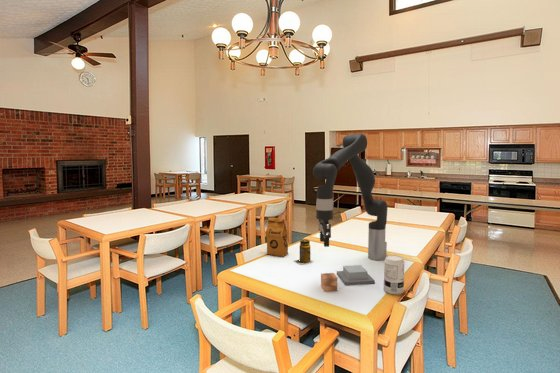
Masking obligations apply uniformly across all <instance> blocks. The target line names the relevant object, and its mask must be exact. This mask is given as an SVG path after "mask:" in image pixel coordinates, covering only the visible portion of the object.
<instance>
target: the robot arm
mask: <svg viewBox="0 0 560 373" xmlns="http://www.w3.org/2000/svg"><path fill="white" fill-rule="evenodd" d="M342 147H343V148H341V149H339V150H337V151H335V152H334V153H332V154H331V155H330V156H329V157H328V158H325V159H324V160H321V161H320V162H317V163H316V164H315V165H314V167H313V169H312V175H313V176H314V178H315V179H318V180H325V182H324V184H320V185H319V184H318V186H317V187H316V203H315V204H316V206H315V207H316V208H315V209H316V210H315V219H317V220H318V232H319V241H320V242H322V243H323V246H324V248H328V247H330V239H331V237H332V229H331V228H332V225H331V223H329V222H330V220H333V219H334V199H333V198H334V192H333V191H334V186H335V182H336V179H337V175H338V170H340V169H341V168H342V167H344V165H346V163H347V162H348V161H349V162H350V165H351V167H352V170H353V173H354V176H355V179H356V182H357V185H358V187H359V190H360V193H361V196H362V199H363V204H364V208H365V209H364V210H365V211H366V214H368V215H369V216H373V217H376V220H373V221H371V222H368V233H367V234H368V237H367V238H368V239H367V240H368V241H367V242H368V243H367V245H368V248H367V257H368V259H370V260H374V261H383V260H385V259H386V256H387V245H388V242H387V241H386V228H387V227H386V225H387V219H388V204H387V202H386V201H385V200H381V199H374V198H373V195H372V194H373V193H372V191H373V189H374V186H375V184H376V177H375V174H374V171H373V169H372V168H371V167H370V166H369V165H368V164H367V163H366V162H365V161H364V160H363V159H362V158H361V157H360V156H359V154H361V153H363V152H365V150H366V149H367V147H368V139H367V136H366V135H365V134H362V133H353V134H347V135H344V136H343V138H342Z"/></svg>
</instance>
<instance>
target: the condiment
mask: <svg viewBox="0 0 560 373" xmlns="http://www.w3.org/2000/svg"><path fill="white" fill-rule="evenodd" d="M299 260H300V261H299ZM294 262H295V263H297V264H298V265H301V266H302V265H306V264H311V263H314V261H313V260H311V244H310V240H309V239H304V238H303V239H300V241H299V259H296V260H294Z"/></svg>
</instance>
